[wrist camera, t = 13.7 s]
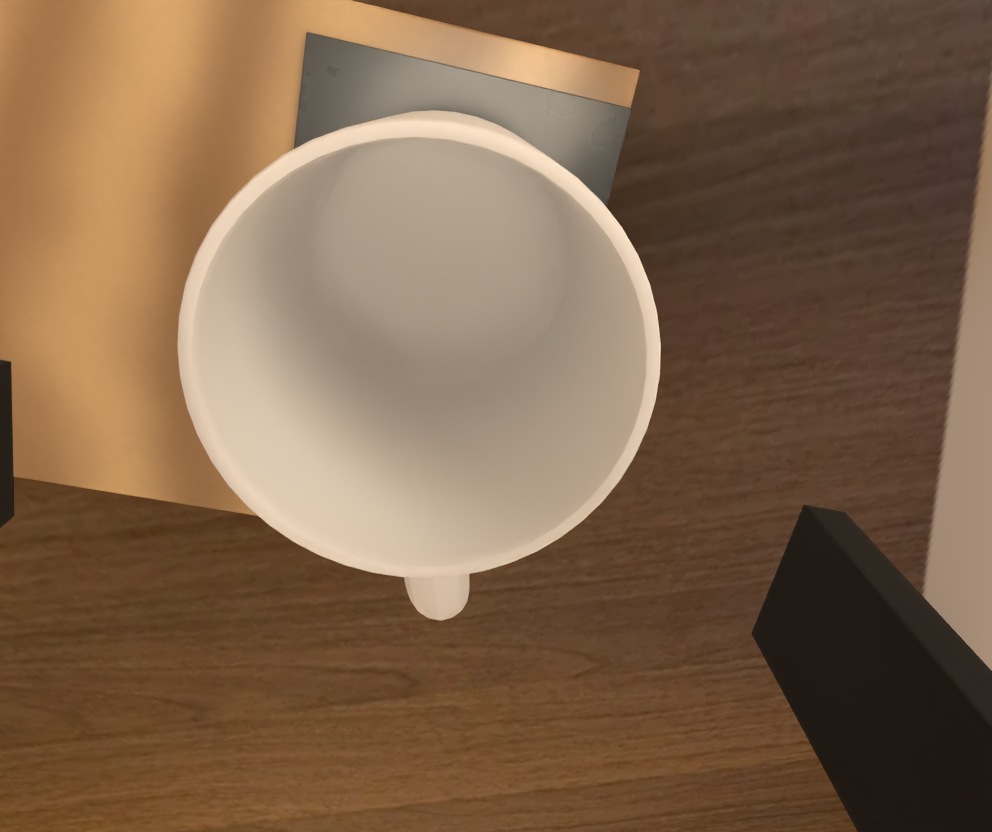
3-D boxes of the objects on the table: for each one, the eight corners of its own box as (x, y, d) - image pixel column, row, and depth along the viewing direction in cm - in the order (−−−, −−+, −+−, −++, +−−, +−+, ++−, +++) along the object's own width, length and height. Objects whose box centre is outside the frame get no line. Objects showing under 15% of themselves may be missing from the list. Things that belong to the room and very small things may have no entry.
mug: (566, 493, 26) (628, 724, 16) (319, 496, 26) (233, 734, 16) (585, 110, 21) (686, 120, 12) (283, 107, 21) (135, 116, 11)
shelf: (603, 76, 27) (667, 65, 18) (505, 479, 32) (520, 610, 24) (-70, -85, 24) (-350, -183, 16) (-45, 384, 30) (-240, 494, 22)
